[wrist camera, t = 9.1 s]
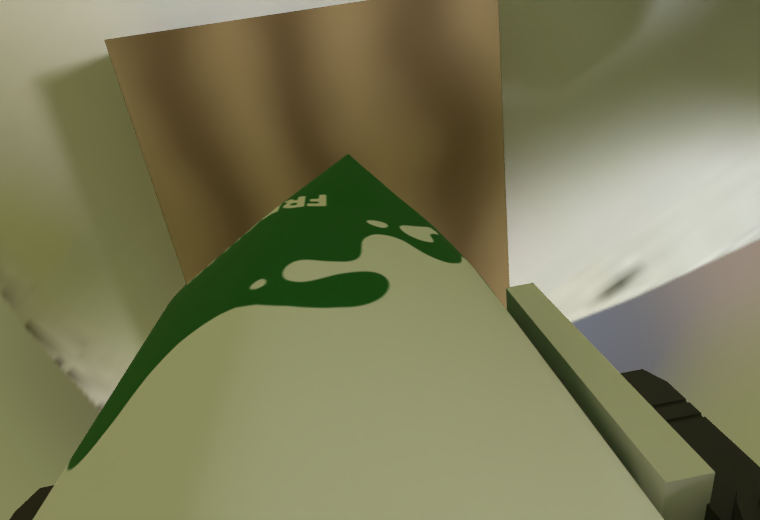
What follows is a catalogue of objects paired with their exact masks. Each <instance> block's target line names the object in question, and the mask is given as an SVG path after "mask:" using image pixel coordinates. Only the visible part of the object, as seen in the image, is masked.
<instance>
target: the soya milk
mask: <svg viewBox="0 0 760 520" xmlns="http://www.w3.org/2000/svg"><path fill="white" fill-rule="evenodd" d="M33 520H664V519H663V517H662V516H661V515H660V513H659V512H658V511H657V509H656V508H655V507H654V505H653V504H652V503H651V501H650V500H649V499H648V497H647V496H646V495H645V493H644V492H643V491H642V489H641V488H640V487H639V485H638V484H637V483H636V481H635V480H634V479H633V477H632V476H631V475H630V473H629V472H628V471H627V469H626V468H625V467H624V465H623V464H622V463H621V461H620V460H619V459H618V457H617V456H616V455H615V453H614V452H613V451H612V449H611V448H610V447H609V445H608V444H607V443H606V441H605V440H604V439H603V437H602V436H601V435H600V433H599V432H598V431H597V429H596V428H595V427H594V425H593V424H592V423H591V421H590V420H589V419H588V417H587V416H586V415H585V413H584V412H583V411H582V409H581V408H580V407H579V405H578V404H577V403H576V401H575V400H574V399H573V397H572V396H571V395H570V393H569V392H568V391H567V389H566V388H565V387H564V385H563V384H562V383H561V381H560V380H559V379H558V377H557V376H556V375H555V373H554V372H553V371H552V369H551V368H550V367H549V365H548V364H547V363H546V361H545V360H544V359H543V357H542V356H541V355H540V353H539V352H538V351H537V349H536V348H535V347H534V345H533V344H532V343H531V342H530V340H529V339H528V338H527V336H526V335H525V334H524V332H523V331H522V330H521V328H520V327H519V326H518V324H517V323H516V322H515V320H514V319H513V318H512V316H511V315H510V314H509V312H508V311H507V310H506V308H505V307H504V306H503V304H502V303H501V302H500V300H499V299H498V298H497V296H496V295H495V294H494V292H493V291H492V290H491V288H490V287H489V286H488V285H487V283H486V282H485V281H484V279H483V278H482V277H481V276H480V275H479V273H478V272H477V271H476V270H475V269H474V268H473V267H472V266H471V264H470V263H469V262H468V261H467V260H466V259H465V258H464V257H463V256H462V254H461V253H460V252H459V251H458V250H457V249H456V248H455V247H454V246H453V245H452V244H451V243H450V242H449V241H448V240H447V239H446V238H445V237H444V236H443V235H442V234H441V233H440V232H439V231H438V230H437V229H436V228H435V227H434V226H433V225H432V224H431V223H429V222H428V221H427V220H426V219H425V218H424V217H422V216H421V215H420V214H419V213H418V212H416V211H415V210H414V209H413V208H411V207H410V206H409V205H408V204H406V203H405V202H404V201H403V200H402V199H400V198H399V197H398V196H397V195H395V194H394V193H393V192H392V191H391V190H390V189H388V188H387V187H386V186H385V185H384V184H383V183H382V182H380V181H379V180H378V179H377V178H376V177H375V176H373V175H372V174H371V173H370V172H369V171H368V170H366V169H365V168H364V167H363V166H362V165H361V164H359V163H358V162H357V161H356V160H355V159H354V158H353V157H352V156H350V155H349V154H347V155H346V156H344V157H343V158H342V159H340V160H339V161H338V162H336V163H335V164H334V165H332V166H331V167H330V168H328V169H327V170H326V171H324V172H323V173H322V174H320V175H319V176H318V177H316V178H315V179H314V180H312V181H311V182H310V183H308V184H307V185H306V186H304V187H303V188H302V189H300V190H299V191H298V192H296V193H295V194H294V195H292V196H291V197H290V198H288V199H287V200H286V201H284V202H283V203H282V204H280V205H279V206H278V207H276V208H275V209H274V210H273V211H271V212H270V213H269V214H267V215H266V216H265V217H264V218H263V219H261V220H260V221H259V222H258V223H257V224H256V225H254V226H253V227H252V228H251V229H250V230H249V231H248V232H246V233H245V234H244V235H243V236H242V237H241V238H239V239H238V240H237V241H236V242H235V243H234V244H233V245H231V246H230V247H229V248H228V249H227V250H226V251H224V252H223V253H222V254H221V255H220V256H219V257H217V258H216V259H215V260H214V261H213V262H212V263H211V264H209V265H208V266H207V267H206V268H205V269H204V270H202V271H201V272H200V273H199V274H198V275H197V276H196V277H194V278H193V279H192V280H191V281H190V282H189V283H187V284H186V285H185V286H184V287H183V288H182V289H181V290H180V291H179V292H178V293H177V294H176V296H175V297H174V298H173V299H172V301H171V302H170V303H169V305H168V306H167V308H166V309H165V311H164V312H163V314H162V316H161V317H160V319H159V320H158V322H157V323H156V325H155V326H154V328H153V330H152V331H151V333H150V334H149V336H148V338H147V339H146V341H145V342H144V344H143V345H142V347H141V349H140V350H139V352H138V353H137V355H136V357H135V358H134V360H133V361H132V363H131V364H130V366H129V368H128V369H127V371H126V372H125V374H124V376H123V377H122V379H121V380H120V382H119V383H118V385H117V387H116V388H115V390H114V391H113V393H112V395H111V396H110V398H109V399H108V401H107V402H106V404H105V406H104V407H103V409H102V410H101V412H100V414H99V415H98V417H97V418H96V420H95V422H94V423H93V425H92V426H91V428H90V429H89V431H88V433H87V434H86V436H85V437H84V439H83V441H82V442H81V444H80V445H79V447H78V448H77V450H76V452H75V453H74V455H73V456H72V458H71V460H70V461H69V463H68V464H67V466H66V468H65V469H64V471H63V472H62V474H61V475H60V477H59V479H58V480H57V482H56V483H55V485H54V487H53V488H52V490H51V491H50V493H49V494H48V496H47V498H46V499H45V501H44V502H43V504H42V506H41V507H40V509H39V510H38V512H37V514H36V515H35V517H34V518H33Z"/></svg>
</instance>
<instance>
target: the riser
mask: <svg viewBox="0 0 760 520" xmlns="http://www.w3.org/2000/svg"><path fill="white" fill-rule="evenodd" d="M105 43H106V46H107V49H108V52H109V55H110V58H111V61H112V64H113V67H114V70H115V73H116V76H117V79H118V82H119V85H120V88H121V91H122V94H123V97H124V100H125V103H126V106H127V109H128V111H129V114H130V117H131V120H132V123H133V126H134V129H135V132H136V135H137V138H138V141H139V144H140V147H141V150H142V153H143V156H144V159H145V162H146V165H147V168H148V171H149V174H150V177H151V180H152V183H153V186H154V189H155V192H156V195H157V198H158V201H159V204H160V207H161V210H162V213H163V215H164V218H165V221H166V224H167V227H168V230H169V233H170V236H171V239H172V242H173V245H174V248H175V251H176V254H177V257H178V260H179V263H180V266H181V269H182V272H183V275H184V278H185V281H186V284H187V283H189V282H190V281H191V280H192V279H193V278H194V277H196V276H197V275H198V274H199V273H200V272H201V271H202V270H204V269H205V268H206V267H207V266H208V265H209V264H211V263H212V262H213V261H214V260H215V259H216V258H217V257H219V256H220V255H221V254H222V253H223V252H224V251H226V250H227V249H228V248H229V247H230V246H231V245H233V244H234V243H235V242H236V241H237V240H238V239H239V238H241V237H242V236H243V235H244V234H245V233H246V232H248V231H249V230H250V229H251V228H252V227H253V226H254V225H256V224H257V223H258V222H259V221H260V220H261V219H263V218H264V217H265V216H266V215H267V214H269V213H270V212H271V211H273V210H274V209H275V208H276V207H278V206H279V205H280V204H282V203H283V202H284V201H286V200H287V199H288V198H290V197H291V196H292V195H294V194H295V193H296V192H298V191H299V190H300V189H302V188H303V187H304V186H306V185H307V184H308V183H310V182H311V181H312V180H314V179H315V178H316V177H318V176H319V175H320V174H322V173H323V172H324V171H326V170H327V169H328V168H330V167H331V166H332V165H334V164H335V163H336V162H338V161H339V160H340V159H342V158H343V157H344V156H346V155H347V154H349V155H350V156H352V157H353V158H354V159H355V160H356V161H357V162H358V163H359V164H361V165H362V166H363V167H364V168H365V169H366V170H368V171H369V172H370V173H371V174H372V175H373V176H375V177H376V178H377V179H378V180H379V181H380V182H382V183H383V184H384V185H385V186H386V187H387V188H388V189H390V190H391V191H392V192H393V193H394V194H395V195H397V196H398V197H399V198H400V199H402V200H403V201H404V202H405V203H406V204H408V205H409V206H410V207H411V208H413V209H414V210H415V211H416V212H418V213H419V214H420V215H421V216H422V217H424V218H425V219H426V220H427V221H428V222H429V223H431V224H432V225H433V226H434V227H435V228H436V229H437V230H438V231H439V232H440V233H441V234H442V235H443V236H444V237H445V238H446V239H447V240H448V241H449V242H450V243H451V244H452V245H453V246H454V247H455V248H456V249H457V250H458V251H459V252H460V253H461V254H462V256H463V257H464V258H465V259H466V260H467V261H468V262H469V263H470V264H471V266H472V267H473V268H474V269H475V270H476V271H477V272H478V273H479V275H480V276H481V277H482V278H483V279H484V281H485V282H486V283H487V285H488V286H489V287H490V288H491V290H492V291H493V292H494V294H495V295H496V296H497V298H498V299H499V300H500V302H501V303H502V304H503V306H504V307H505V308H506V310H507V301H506V288H508V287H509V264H508V239H507V213H506V188H505V163H504V137H503V112H502V87H501V61H500V36H499V11H498V0H367V1H361V2H354V3H347V4H341V5H334V6H327V7H321V8H314V9H307V10H301V11H294V12H287V13H281V14H274V15H267V16H261V17H254V18H247V19H241V20H234V21H227V22H221V23H214V24H207V25H201V26H194V27H187V28H181V29H174V30H167V31H161V32H154V33H147V34H141V35H134V36H127V37H121V38H114V39H107V40H105Z"/></svg>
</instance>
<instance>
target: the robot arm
mask: <svg viewBox="0 0 760 520" xmlns="http://www.w3.org/2000/svg"><path fill="white" fill-rule="evenodd" d="M506 301H507V311H508V312H509V314H510V315H511V316H512V318H513V319H514V320H515V322H516V323H517V324H518V326H519V327H520V328H521V330H522V331H523V332H524V334H525V335H526V336H527V338H528V339H529V340H530V342H531V343H532V344H533V345H534V347H535V348H536V349H537V351H538V352H539V353H540V355H541V356H542V357H543V359H544V360H545V361H546V363H547V364H548V365H549V367H550V368H551V369H552V371H553V372H554V373H555V375H556V376H557V377H558V379H559V380H560V381H561V383H562V384H563V385H564V387H565V388H566V389H567V391H568V392H569V393H570V395H571V396H572V397H573V399H574V400H575V401H576V403H577V404H578V405H579V407H580V408H581V409H582V411H583V412H584V413H585V415H586V416H587V417H588V419H589V420H590V421H591V423H592V424H593V425H594V427H595V428H596V429H597V431H598V432H599V433H600V435H601V436H602V437H603V439H604V440H605V441H606V443H607V444H608V445H609V447H610V448H611V449H612V451H613V452H614V453H615V455H616V456H617V457H618V459H619V460H620V461H621V463H622V464H623V465H624V467H625V468H626V469H627V471H628V472H629V473H630V475H631V476H632V477H633V479H634V480H635V481H636V483H637V484H638V485H639V487H640V488H641V489H642V491H643V492H644V493H645V495H646V496H647V497H648V499H649V500H650V501H651V503H652V504H653V505H654V507H655V508H656V509H657V511H658V512H659V513H660V515H661V516H662V517H663V519H664V520H760V467H759V466H758V465H757V464H756V463H754V461H753V460H751V459H750V458H749V457H748V456H747V455H746V454H745V453H744V452H743V451H742V450H741V449H739V448H738V447H737V446H736V445H735V444H734V443H733V442H732V441H731V440H730V439H729V438H728V437H726V436H725V435H724V434H723V433H722V432H721V431H720V430H719V429H718V428H717V427H716V426H715V425H713V424H712V423H711V422H710V421H709V420H708V419H707V418H706V417H702V415H701V413H700V412H699V411H698V410H697V409H696V408H695V407H694V406H693V405H692V404H691V403H687V402H686V399H685V398H684V397H683V396H682V395H681V394H680V393H679V392H678V391H677V390H675V389H674V388H673V387H672V386H671V385H670V384H669V383H668V382H666V381H665V380H663V379H661V378H658V377H656V376H655V375H653V374H651V373H649V372H647V371H645V370H643V369H641V370H635V371H630V372H626V373H619V372H618V371H617V370H616V369H615V368H614V367H613V366H612V365H611V364H610V362H609V361H608V360H607V359H606V358H605V357H604V356H603V355H602V354H601V353H600V352H599V351H598V350H597V349H596V348H595V347H594V346H593V345H592V344H591V343H590V342H589V341H588V340H587V339H586V338H585V337H584V335H582V333H581V332H580V331H579V330H578V329H577V328H576V327H575V326H574V325H573V324H572V323H571V322H570V321H569V320H568V319H567V318H566V317H565V316H564V315H563V314H562V313H561V312H560V311H559V310H558V308H557V307H556V306H555V305H554V304H553V303H552V302H551V301H550V300H549V299H548V298H547V297H546V296H545V295H544V294H543V293H542V292H541V291H540V290H539V289H538V288H537V287H536V286H535V285H534V284H533V283H530V284H525V285H519V286H514V287H508V288H506ZM53 487H54V485H53V486H48V487H43V488H40V489H39V490H38V491H36V492H35V493H34V494H33V495H32V496H31V497H30V498H29V499H28V500H27V501H26V502H25V503H24V504H23V505H22V506H21V507H20V508H19V509H17V510H16V511H15V513H14V514H13V516H12V517H11V519H10V520H33V518H34V517H35V515H36V514H37V512H38V510H39V509H40V507H41V506H42V504H43V502H44V501H45V499H46V498H47V496H48V494H49V493H50V491H51V490H52V488H53Z"/></svg>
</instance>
